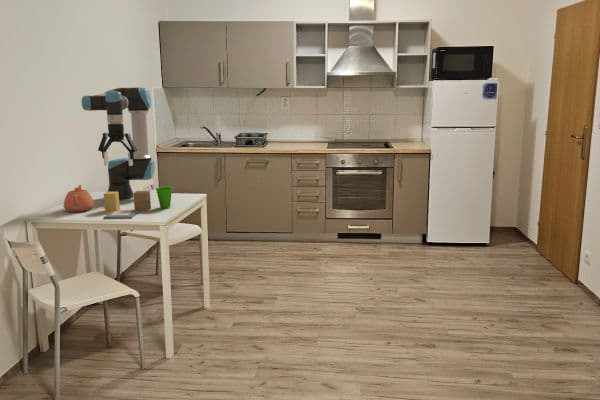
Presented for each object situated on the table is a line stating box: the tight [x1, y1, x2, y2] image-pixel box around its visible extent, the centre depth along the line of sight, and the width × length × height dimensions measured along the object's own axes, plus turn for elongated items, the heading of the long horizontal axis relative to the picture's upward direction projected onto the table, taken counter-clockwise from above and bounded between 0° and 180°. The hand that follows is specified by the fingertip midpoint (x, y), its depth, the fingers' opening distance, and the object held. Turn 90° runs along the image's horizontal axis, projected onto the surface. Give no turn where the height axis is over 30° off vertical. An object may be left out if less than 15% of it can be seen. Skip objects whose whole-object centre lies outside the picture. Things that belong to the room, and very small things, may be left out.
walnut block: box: [133, 190, 152, 213], centre depth 295 cm, size 7×7×10 cm
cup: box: [155, 186, 174, 210], centre depth 300 cm, size 9×9×11 cm
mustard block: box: [103, 191, 121, 213], centre depth 293 cm, size 6×6×10 cm
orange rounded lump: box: [63, 184, 95, 213], centre depth 296 cm, size 22×15×12 cm
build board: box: [103, 209, 139, 220], centre depth 284 cm, size 14×14×1 cm
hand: (118, 165), depth 278 cm, fingers open, 13 cm apart
